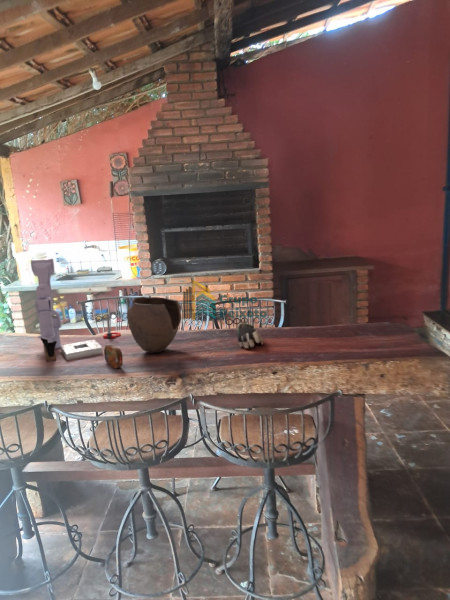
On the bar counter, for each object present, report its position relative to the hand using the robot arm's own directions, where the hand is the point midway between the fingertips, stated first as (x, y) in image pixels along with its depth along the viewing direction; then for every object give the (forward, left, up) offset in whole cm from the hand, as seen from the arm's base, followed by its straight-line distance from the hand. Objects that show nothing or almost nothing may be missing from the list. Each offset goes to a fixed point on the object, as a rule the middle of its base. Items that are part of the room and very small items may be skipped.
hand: (50, 354), depth 204 cm
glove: (+34, +85, -3) cm, 92 cm away
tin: (+26, +22, -3) cm, 34 cm away
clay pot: (+19, +44, -3) cm, 48 cm away
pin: (0, 0, -2) cm, 2 cm away
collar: (-2, +14, -2) cm, 14 cm away
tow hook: (-22, +34, -3) cm, 41 cm away
